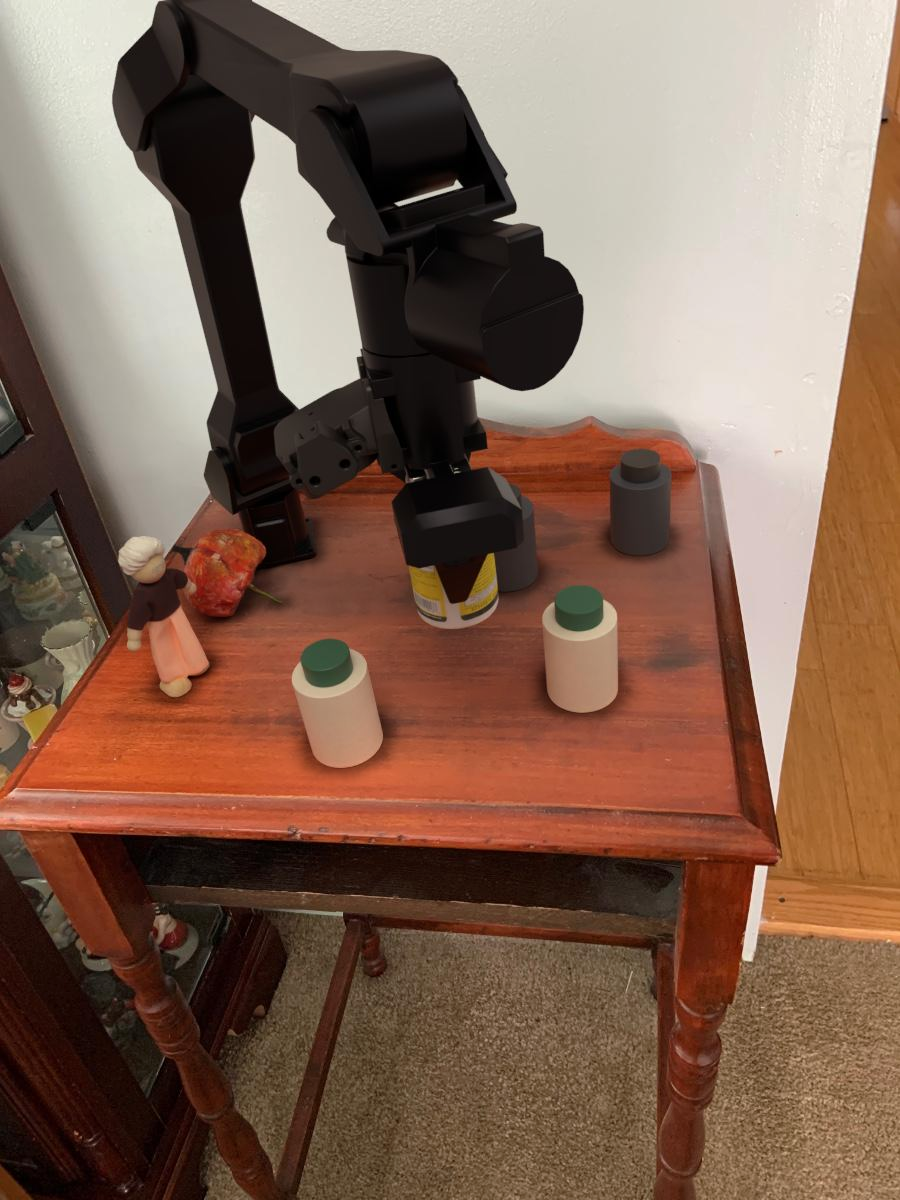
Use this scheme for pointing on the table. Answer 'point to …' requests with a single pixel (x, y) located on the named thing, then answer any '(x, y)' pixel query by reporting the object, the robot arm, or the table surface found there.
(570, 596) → the cream bottle
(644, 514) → the grey bottle right
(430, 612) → the supplement bottle
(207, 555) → the red orange flower
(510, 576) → the grey bottle left
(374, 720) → the cream bottle
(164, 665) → the grandmother figurine
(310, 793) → the table surface
